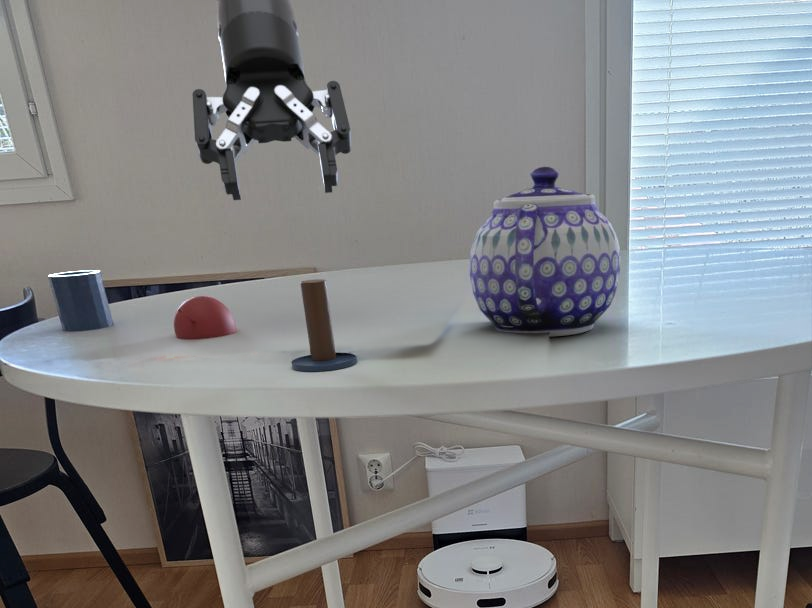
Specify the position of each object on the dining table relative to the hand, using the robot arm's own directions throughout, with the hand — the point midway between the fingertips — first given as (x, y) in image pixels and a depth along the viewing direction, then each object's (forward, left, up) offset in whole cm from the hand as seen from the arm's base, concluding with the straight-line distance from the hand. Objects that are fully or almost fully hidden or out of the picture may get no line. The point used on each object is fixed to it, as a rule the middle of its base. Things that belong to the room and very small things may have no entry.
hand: (282, 190), depth 79 cm
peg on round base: (+5, -10, -14) cm, 18 cm away
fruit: (-11, +1, -15) cm, 18 cm away
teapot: (+24, +7, -15) cm, 29 cm away
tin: (-28, +11, -14) cm, 33 cm away
